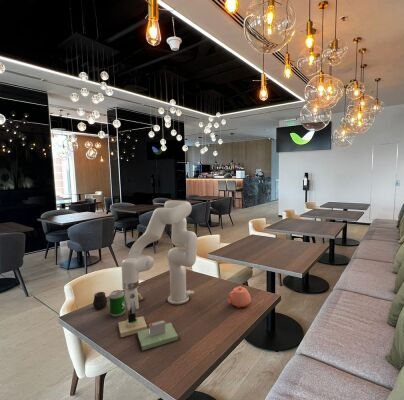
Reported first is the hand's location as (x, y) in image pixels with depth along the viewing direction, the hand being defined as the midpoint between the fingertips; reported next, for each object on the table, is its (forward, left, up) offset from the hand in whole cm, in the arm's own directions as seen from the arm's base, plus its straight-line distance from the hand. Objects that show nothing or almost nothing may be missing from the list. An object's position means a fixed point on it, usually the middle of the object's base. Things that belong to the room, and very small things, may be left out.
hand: (132, 320), depth 129 cm
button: (0, 0, -2) cm, 2 cm away
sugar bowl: (-58, +4, -4) cm, 58 cm away
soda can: (+5, -18, -4) cm, 19 cm away
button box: (0, 0, -4) cm, 4 cm away
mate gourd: (+13, -30, -4) cm, 33 cm away
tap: (-9, +13, -2) cm, 16 cm away
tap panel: (-9, +13, -4) cm, 16 cm away
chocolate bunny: (-6, -29, -4) cm, 30 cm away
